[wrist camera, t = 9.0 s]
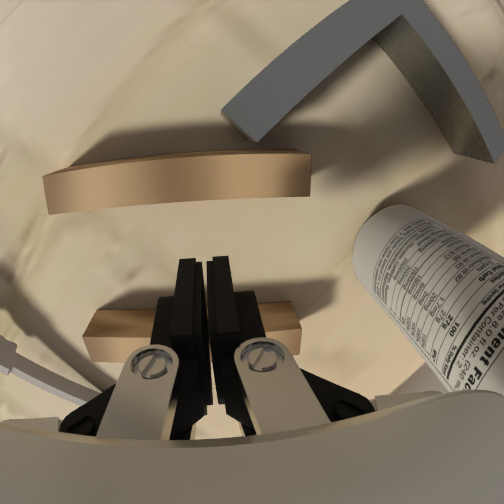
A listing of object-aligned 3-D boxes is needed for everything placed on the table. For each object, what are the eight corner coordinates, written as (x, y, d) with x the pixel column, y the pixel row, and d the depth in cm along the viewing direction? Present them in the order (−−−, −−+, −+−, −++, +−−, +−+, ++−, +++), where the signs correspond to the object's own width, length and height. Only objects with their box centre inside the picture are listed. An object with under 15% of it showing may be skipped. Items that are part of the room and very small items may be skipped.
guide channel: (104, 333, 19) (91, 361, 17) (67, 167, 15) (42, 176, 12) (289, 326, 21) (299, 354, 18) (295, 149, 16) (311, 154, 13)
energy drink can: (379, 300, 21) (507, 465, 7) (327, 252, 19) (488, 463, 5) (434, 238, 19) (594, 362, 6) (390, 180, 17) (613, 301, 4)
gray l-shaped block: (467, 155, 17) (506, 166, 13) (221, 140, 16) (222, 143, 12) (464, 37, 14) (502, 30, 10) (219, -12, 12) (220, -45, 8)
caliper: (-32, 293, 17) (-72, 333, 12) (-31, 284, 17) (-72, 325, 11) (154, 420, 24) (147, 477, 18) (160, 415, 24) (153, 474, 18)
